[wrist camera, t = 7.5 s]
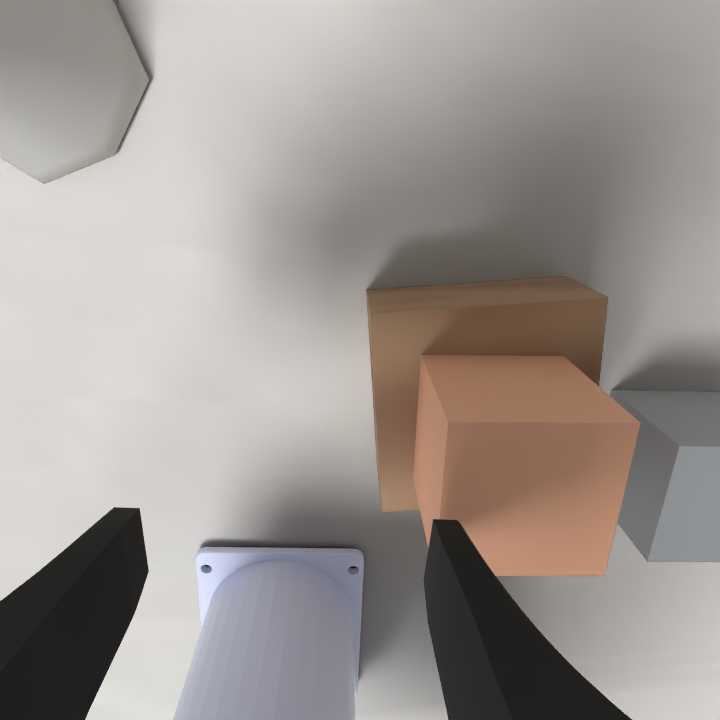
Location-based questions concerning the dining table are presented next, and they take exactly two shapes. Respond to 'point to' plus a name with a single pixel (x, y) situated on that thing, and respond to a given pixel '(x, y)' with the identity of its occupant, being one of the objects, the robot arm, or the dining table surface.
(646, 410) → the slate grey block
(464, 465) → the terracotta block
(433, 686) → the dining table surface
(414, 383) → the walnut base block
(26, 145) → the flask
